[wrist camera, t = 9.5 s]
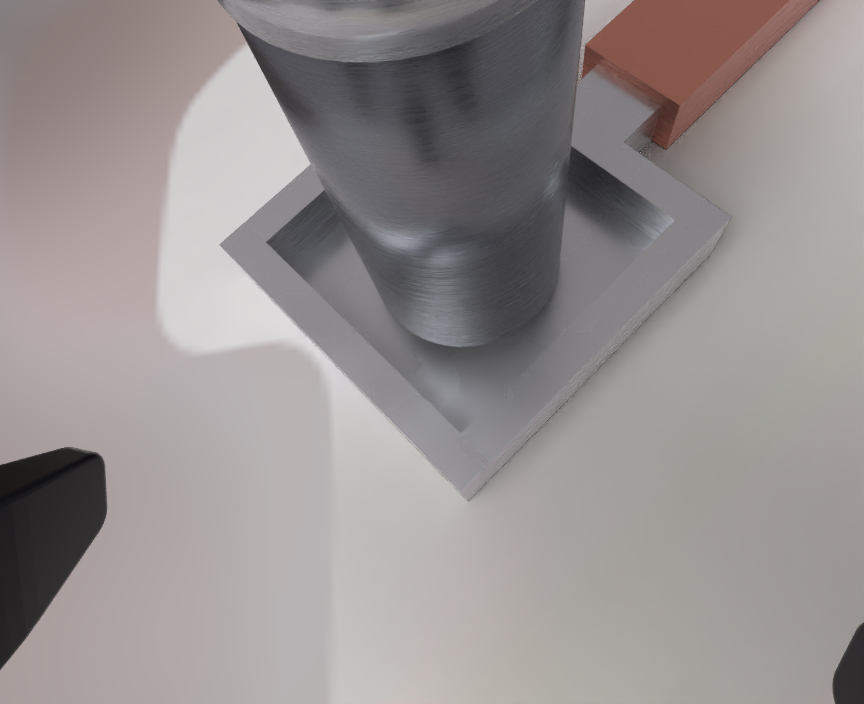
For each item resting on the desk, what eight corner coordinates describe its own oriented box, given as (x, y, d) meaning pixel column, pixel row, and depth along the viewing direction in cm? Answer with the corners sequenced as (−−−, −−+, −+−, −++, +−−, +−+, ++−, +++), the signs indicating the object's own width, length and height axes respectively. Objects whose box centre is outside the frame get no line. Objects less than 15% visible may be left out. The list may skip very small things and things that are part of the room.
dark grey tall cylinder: (513, 381, 18) (478, -45, 6) (338, 305, 19) (14, -160, 7) (594, 213, 19) (707, -424, 7) (424, 154, 21) (275, -452, 9)
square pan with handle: (467, 501, 17) (460, 491, 16) (248, 276, 21) (219, 244, 19) (1050, -93, 21) (1104, -162, 19) (785, -204, 24) (807, -273, 22)
